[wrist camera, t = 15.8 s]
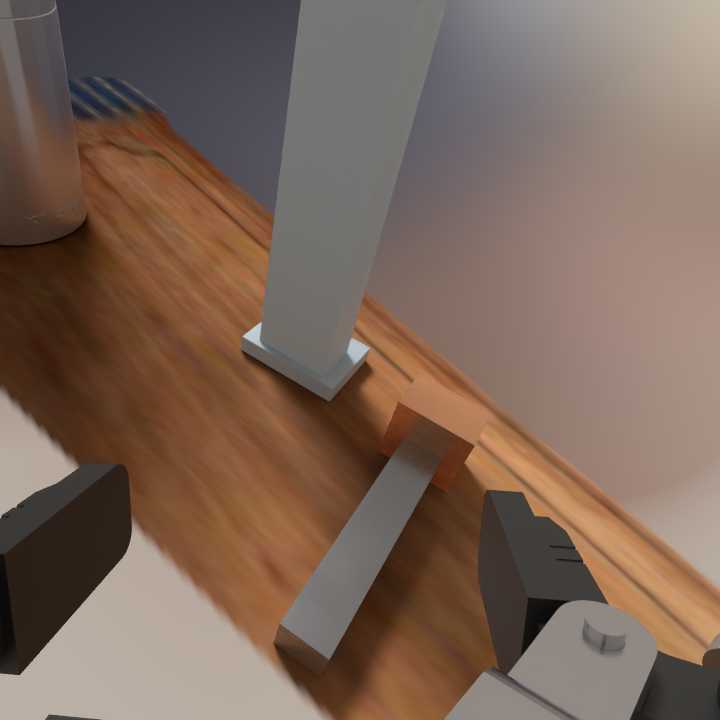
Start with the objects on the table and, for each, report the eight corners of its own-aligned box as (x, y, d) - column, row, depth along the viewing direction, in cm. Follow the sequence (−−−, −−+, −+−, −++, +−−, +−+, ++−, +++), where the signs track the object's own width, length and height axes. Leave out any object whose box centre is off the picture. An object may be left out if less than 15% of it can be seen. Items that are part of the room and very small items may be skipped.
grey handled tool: (253, 628, 23) (262, 585, 20) (398, 423, 33) (419, 373, 30) (340, 693, 22) (365, 659, 19) (462, 460, 32) (491, 413, 29)
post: (241, 349, 35) (325, -566, 13) (284, 314, 38) (407, -452, 17) (329, 401, 33) (590, -539, 12) (366, 360, 37) (619, -420, 15)
